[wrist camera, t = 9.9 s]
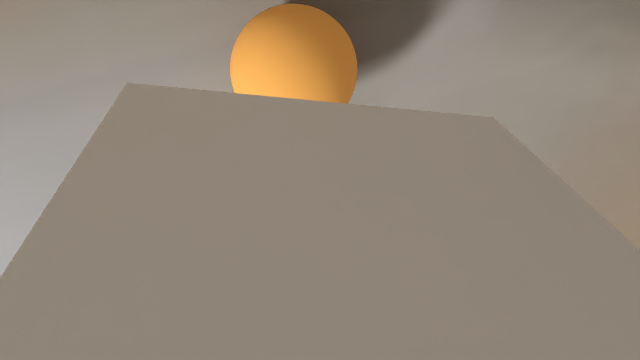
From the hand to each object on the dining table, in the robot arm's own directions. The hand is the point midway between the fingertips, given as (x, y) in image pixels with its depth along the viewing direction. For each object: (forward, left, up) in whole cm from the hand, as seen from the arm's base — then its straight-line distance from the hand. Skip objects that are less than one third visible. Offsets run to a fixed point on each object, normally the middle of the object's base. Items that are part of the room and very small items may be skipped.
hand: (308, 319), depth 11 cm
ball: (-2, 0, -13) cm, 13 cm away
